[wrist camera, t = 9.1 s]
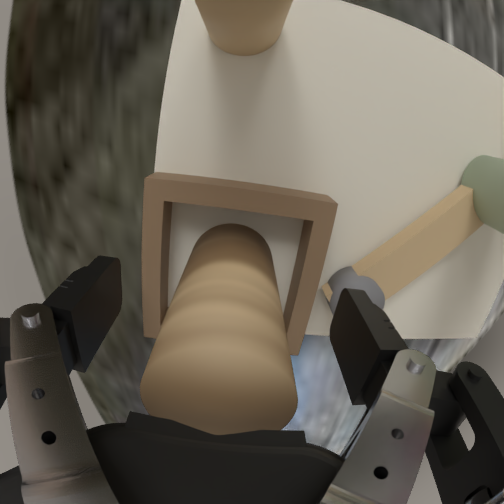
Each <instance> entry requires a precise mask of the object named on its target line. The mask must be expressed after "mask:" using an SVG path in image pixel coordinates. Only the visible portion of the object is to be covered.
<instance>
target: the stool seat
mask: <svg viewBox="0 0 504 504" xmlns="http://www.w3.org/2000/svg"><path fill="white" fill-rule="evenodd" d="M480 155H488V156H492V157H496V158H500V159H504V77H502V76H501V75H500V74H498V73H497V72H495V71H494V70H492V69H491V68H489V67H488V66H486V65H484V64H483V63H481V62H480V61H478V60H476V59H475V58H473V57H471V56H470V55H468V54H466V53H465V52H463V51H461V50H459V49H458V48H456V47H454V46H452V45H450V44H448V43H446V42H445V41H443V40H441V39H439V38H437V37H435V36H433V35H431V34H428V33H426V32H424V31H422V30H420V29H418V28H415V27H413V26H411V25H409V24H406V23H404V22H401V21H399V20H397V19H394V18H391V17H389V16H386V15H384V14H381V13H378V12H375V11H372V10H370V9H367V8H364V7H361V6H357V5H354V4H351V3H348V2H344V1H341V0H182V1H181V5H180V9H179V14H178V18H177V23H176V27H175V32H174V37H173V42H172V47H171V52H170V57H169V63H168V68H167V74H166V80H165V87H164V93H163V100H162V107H161V114H160V122H159V131H158V139H157V149H156V159H155V170H154V173H153V174H151V175H149V176H147V177H145V182H144V199H143V222H142V304H143V327H144V337H150V338H155V339H157V336H158V334H159V331H160V328H161V326H162V323H163V321H164V318H165V316H166V313H167V310H168V308H169V305H170V303H171V300H172V298H173V295H174V293H175V291H176V288H177V286H178V283H179V281H180V278H181V276H182V273H183V271H184V269H185V266H186V264H187V262H188V259H189V257H190V254H191V252H192V250H193V247H194V245H195V243H196V242H197V240H198V239H199V237H200V236H201V235H202V234H203V233H205V232H206V231H207V230H209V229H210V228H212V227H215V226H217V225H221V224H227V223H235V224H241V225H245V226H248V227H250V228H252V229H253V230H255V231H257V232H258V233H259V234H260V235H261V236H262V237H263V238H264V239H265V241H266V242H267V243H268V245H269V248H270V250H271V254H272V259H273V264H274V269H275V275H276V280H277V285H278V290H279V296H280V301H281V307H282V312H283V317H284V323H285V328H286V334H287V340H288V345H289V351H290V355H298V354H299V351H300V348H301V345H302V341H303V338H304V335H305V334H306V335H320V336H330V325H331V322H332V319H333V314H332V312H331V309H330V307H329V305H328V303H327V300H326V297H325V293H324V291H323V289H322V287H321V286H322V285H324V284H325V283H327V282H328V280H329V279H330V277H331V276H332V275H333V274H334V273H335V272H337V271H338V270H340V269H342V268H345V267H348V266H352V265H354V264H355V263H357V262H358V261H360V260H361V259H362V258H364V257H365V256H367V255H368V254H370V253H371V252H372V251H374V250H375V249H377V248H378V247H380V246H381V245H382V244H384V243H385V242H387V241H388V240H389V239H391V238H392V237H393V236H395V235H396V234H398V233H399V232H400V231H402V230H403V229H404V228H406V227H407V226H408V225H410V224H411V223H413V222H414V221H415V220H417V219H418V218H419V217H421V216H422V215H423V214H424V213H426V212H427V211H428V210H430V209H431V208H432V207H434V206H435V205H436V204H438V203H439V202H440V201H441V200H443V199H444V198H445V197H446V196H448V195H449V194H450V193H452V192H453V191H454V190H455V189H457V188H458V187H459V186H460V185H461V183H462V178H463V175H464V172H465V170H466V168H467V166H468V164H469V163H470V162H471V161H472V160H473V159H474V158H476V157H477V156H480ZM503 280H504V234H502V233H501V232H499V231H497V230H495V229H493V228H492V227H490V226H488V225H486V224H483V225H482V226H481V227H480V228H478V229H477V230H476V231H475V232H474V233H473V234H471V235H470V236H469V237H468V238H467V239H466V240H464V241H463V242H462V243H461V244H460V245H458V246H457V247H456V248H455V249H453V250H452V251H451V252H450V253H449V254H447V255H446V256H445V257H444V258H442V259H441V260H440V261H438V262H437V263H436V264H435V265H433V266H432V267H431V268H429V269H428V270H427V271H425V272H424V273H423V274H421V275H420V276H419V277H417V278H416V279H415V280H413V281H412V282H411V283H409V284H408V285H407V286H405V287H404V288H402V289H401V290H400V291H398V292H397V293H395V294H394V295H392V296H391V297H390V298H388V299H387V300H385V305H384V308H383V311H384V312H385V313H386V314H387V316H388V317H389V319H390V322H392V324H393V325H394V327H395V329H396V330H397V331H398V333H399V334H400V336H401V338H402V339H457V338H477V336H478V334H479V332H480V331H481V329H482V327H483V325H484V323H485V320H486V318H487V316H488V314H489V312H490V310H491V308H492V306H493V303H494V301H495V299H496V297H497V294H498V292H499V289H500V287H501V285H502V282H503Z"/></svg>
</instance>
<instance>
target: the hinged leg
mask: <svg viewBox="0 0 504 504" xmlns="http://www.w3.org/2000/svg"><path fill="white" fill-rule="evenodd" d="M483 224H486V225H488V226H490V227H492V228H493V229H495V230H497V231H499V232H501V233H502V234H504V159H500V158H496V157H492V156H488V155H480V156H477V157H476V158H474V159H473V160H472V161H471V162H470V163H469V164H468V166H467V168H466V170H465V172H464V175H463V178H462V183H461V185H460V186H459V187H458V188H457V189H455V190H454V191H453V192H452V193H450V194H449V195H448V196H446V197H445V198H444V199H443V200H441V201H440V202H439V203H438V204H436V205H435V206H434V207H432V208H431V209H430V210H428V211H427V212H426V213H424V214H423V215H422V216H421V217H419V218H418V219H417V220H415V221H414V222H413V223H411V224H410V225H408V226H407V227H406V228H404V229H403V230H402V231H400V232H399V233H398V234H396V235H395V236H393V237H392V238H391V239H389V240H388V241H387V242H385V243H384V244H382V245H381V246H380V247H378V248H377V249H375V250H374V251H372V252H371V253H370V254H368V255H367V256H365V257H364V258H362V259H361V260H360V261H358V262H357V263H355V264H354V265H352V266H348V267H345V268H342V269H340V270H338V271H337V272H335V273H334V274H333V275H332V276H331V277H330V279H329V280H328V282H327V283H325V284H324V285H322V286H321V287H322V289H323V291H324V293H325V297H326V300H327V303H328V305H329V307H330V309H331V312H332V314H333V316H334V312H335V309H336V306H337V303H338V300H339V297H340V294H341V291H342V290H343V289H344V288H351V289H360V290H364V291H365V292H366V293H367V295H368V296H369V298H370V300H371V301H372V303H373V304H376V305H377V306H378V307H379V308H381V309H382V310H383V308H384V305H385V300H387V299H388V298H390V297H391V296H392V295H394V294H395V293H397V292H398V291H400V290H401V289H402V288H404V287H405V286H407V285H408V284H409V283H411V282H412V281H413V280H415V279H416V278H417V277H419V276H420V275H421V274H423V273H424V272H425V271H427V270H428V269H429V268H431V267H432V266H433V265H435V264H436V263H437V262H438V261H440V260H441V259H442V258H444V257H445V256H446V255H447V254H449V253H450V252H451V251H452V250H453V249H455V248H456V247H457V246H458V245H460V244H461V243H462V242H463V241H464V240H466V239H467V238H468V237H469V236H470V235H471V234H473V233H474V232H475V231H476V230H477V229H478V228H480V227H481V226H482V225H483Z"/></svg>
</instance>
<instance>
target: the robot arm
mask: <svg viewBox="0 0 504 504" xmlns="http://www.w3.org/2000/svg"><path fill="white" fill-rule="evenodd" d="M121 305H122V286H121V265H120V260H119V259H118V258H113V257H106V256H98V257H97V258H95V259H94V260H93V261H92V262H91V263H90V264H89V265H88V266H87V267H82V268H80V269H78V270H76V271H74V272H73V273H72V274H71V275H70V276H69V277H68V278H67V279H66V281H64V282H63V283H62V284H61V285H60V287H58V288H57V289H56V290H55V291H54V292H53V293H52V294H51V295H50V296H49V297H48V298H47V299H46V300H45V301H44V302H43V303H42V304H38V303H33V304H27V305H24V306H22V307H20V308H18V309H17V310H15V311H14V312H13V314H12V315H11V317H10V318H0V409H1V407H2V405H3V403H4V401H5V400H6V398H7V400H8V408H9V415H10V422H11V429H12V434H13V440H14V445H15V449H16V454H17V459H18V463H19V466H17V467H15V468H13V469H10V470H8V471H6V472H4V473H2V474H0V504H407V501H408V498H409V496H410V494H411V491H412V488H413V485H414V483H415V480H416V477H417V474H418V471H419V468H420V465H421V462H422V459H423V455H424V452H425V453H426V456H427V458H428V461H429V464H430V467H431V470H432V473H433V476H434V479H435V482H436V485H437V488H438V491H439V494H440V498H441V501H442V504H504V398H503V397H502V395H501V394H500V392H499V390H498V389H497V387H496V386H495V384H494V383H493V381H492V380H491V378H490V377H489V375H488V374H487V373H486V371H485V370H484V369H482V368H481V367H480V366H478V365H476V364H474V363H471V362H461V363H459V364H458V366H457V367H456V369H455V371H454V372H453V374H452V373H447V372H442V371H437V370H436V366H435V364H434V362H433V361H432V360H431V359H430V358H429V357H428V356H426V355H425V354H423V353H421V352H419V351H416V350H411V349H408V347H407V345H406V344H405V342H404V341H403V339H402V338H401V336H400V334H399V333H398V331H397V330H396V329H395V327H394V325H393V324H392V322H390V319H389V317H388V316H387V314H386V313H385V312H384V311H383V310H382V309H381V308H379V307H378V306H377V305H376V304H373V303H372V301H371V300H370V298H369V296H368V295H367V293H366V292H365V291H364V290H360V289H351V288H344V289H343V290H342V291H341V294H340V297H339V300H338V303H337V306H336V309H335V312H334V316H333V319H332V322H331V325H330V341H331V344H332V346H333V349H334V352H335V355H336V358H337V361H338V364H339V367H340V369H341V372H342V375H343V378H344V381H345V384H346V387H347V390H348V393H349V396H350V399H351V402H352V405H366V407H367V409H366V411H365V412H364V414H363V416H362V418H361V419H360V421H359V423H358V425H357V427H356V428H355V430H354V432H353V434H352V435H351V437H350V439H349V441H348V442H347V444H346V446H345V447H344V449H343V450H342V452H341V454H340V455H338V454H336V453H334V452H332V451H330V450H328V449H325V448H323V447H320V446H317V445H313V444H310V443H306V439H305V433H304V431H286V430H256V431H249V432H242V433H234V434H225V435H214V434H210V433H207V432H204V431H201V430H199V429H196V428H193V427H190V426H187V425H185V424H182V423H179V422H177V421H174V420H171V419H166V418H160V417H155V416H150V415H145V414H140V413H136V412H131V411H130V412H129V415H128V418H127V421H126V423H111V424H105V425H100V426H97V427H93V428H91V429H88V428H87V426H86V423H85V421H84V418H83V416H82V413H81V410H80V407H79V404H78V401H77V398H76V396H75V392H74V390H73V386H72V383H71V380H70V377H69V375H70V373H71V371H72V369H73V370H76V371H80V372H83V373H85V372H86V370H87V368H88V366H89V364H90V363H91V361H92V359H93V357H94V355H95V354H96V352H97V350H98V348H99V347H100V345H101V343H102V341H103V340H104V338H105V336H106V334H107V333H108V331H109V329H110V328H111V326H112V324H113V322H114V321H115V319H116V317H117V316H118V314H119V312H120V309H121ZM466 417H467V419H468V421H469V423H470V425H471V427H472V429H473V431H474V434H475V443H474V446H473V447H472V449H471V450H470V451H468V449H467V446H466V444H465V442H464V440H463V438H462V435H461V434H460V431H459V429H458V427H459V426H460V425H461V423H462V422H463V421H464V420H465V418H466Z"/></svg>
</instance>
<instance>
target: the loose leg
mask: <svg viewBox="0 0 504 504" xmlns="http://www.w3.org/2000/svg"><path fill="white" fill-rule="evenodd" d="M140 396H141V400H142V402H143V405H144V407H145V408H146V410H147V412H148V413H149V414H150V415H151V416H155V417H160V418H166V419H171V420H174V421H177V422H179V423H182V424H185V425H187V426H190V427H193V428H196V429H199V430H201V431H204V432H207V433H210V434H214V435H225V434H234V433H242V432H249V431H256V430H281V429H283V428H284V427H285V426H286V425H287V424H288V423H289V422H290V420H291V419H292V418H293V416H294V414H295V412H296V409H297V403H298V397H297V391H296V385H295V379H294V373H293V368H292V362H291V356H290V351H289V345H288V340H287V334H286V328H285V323H284V317H283V312H282V307H281V301H280V296H279V290H278V285H277V280H276V275H275V269H274V264H273V259H272V254H271V250H270V248H269V245H268V243H267V242H266V241H265V239H264V238H263V237H262V236H261V235H260V234H259V233H258V232H257V231H255V230H253V229H252V228H250V227H248V226H245V225H241V224H235V223H227V224H221V225H217V226H215V227H212V228H210V229H209V230H207V231H206V232H205V233H203V234H202V235H201V236H200V237H199V239H198V240H197V242H196V243H195V245H194V247H193V250H192V252H191V254H190V257H189V259H188V262H187V264H186V266H185V269H184V271H183V273H182V276H181V278H180V281H179V283H178V286H177V288H176V291H175V293H174V295H173V298H172V300H171V303H170V305H169V308H168V310H167V313H166V316H165V318H164V321H163V323H162V326H161V328H160V331H159V334H158V336H157V339H156V342H155V344H154V347H153V350H152V352H151V355H150V358H149V360H148V363H147V366H146V369H145V371H144V374H143V377H142V380H141V384H140Z"/></svg>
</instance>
